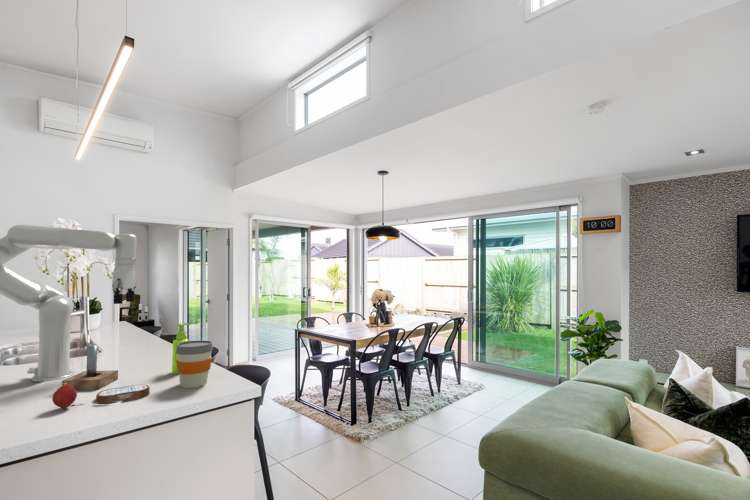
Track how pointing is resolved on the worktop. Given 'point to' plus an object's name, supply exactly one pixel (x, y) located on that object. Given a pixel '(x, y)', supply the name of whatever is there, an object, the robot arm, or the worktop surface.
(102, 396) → the tin
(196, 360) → the reusable coffee cup
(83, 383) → the rod stand
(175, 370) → the soap dispenser
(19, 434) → the worktop surface
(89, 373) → the metal rod
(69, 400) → the onion
